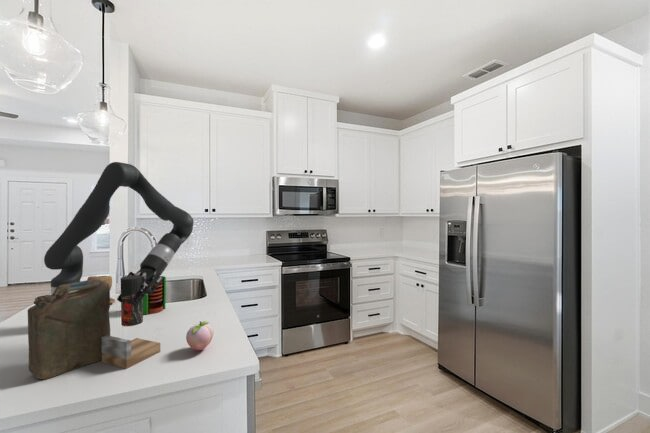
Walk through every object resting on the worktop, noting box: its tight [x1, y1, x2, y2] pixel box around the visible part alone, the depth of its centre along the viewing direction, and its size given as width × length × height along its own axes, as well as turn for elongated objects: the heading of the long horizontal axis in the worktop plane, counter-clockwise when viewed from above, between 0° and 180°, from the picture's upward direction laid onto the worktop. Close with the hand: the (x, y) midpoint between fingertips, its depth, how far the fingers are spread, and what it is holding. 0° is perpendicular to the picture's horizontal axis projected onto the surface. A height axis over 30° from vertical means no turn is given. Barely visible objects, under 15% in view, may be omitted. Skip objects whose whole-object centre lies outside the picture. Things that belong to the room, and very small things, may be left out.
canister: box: [27, 279, 111, 380], centre depth 95 cm, size 19×8×25 cm, turn 147°
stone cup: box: [86, 275, 116, 304], centre depth 154 cm, size 15×12×15 cm
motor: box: [142, 275, 167, 316], centre depth 146 cm, size 10×9×20 cm
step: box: [101, 335, 161, 369], centre depth 101 cm, size 11×12×8 cm
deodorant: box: [120, 275, 144, 327], centre depth 101 cm, size 6×6×15 cm
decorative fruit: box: [185, 320, 214, 351], centre depth 106 cm, size 9×8×10 cm
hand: (126, 302), depth 99 cm, fingers closed on deodorant, 6 cm apart
